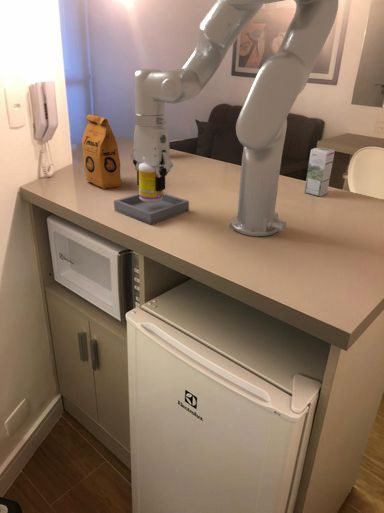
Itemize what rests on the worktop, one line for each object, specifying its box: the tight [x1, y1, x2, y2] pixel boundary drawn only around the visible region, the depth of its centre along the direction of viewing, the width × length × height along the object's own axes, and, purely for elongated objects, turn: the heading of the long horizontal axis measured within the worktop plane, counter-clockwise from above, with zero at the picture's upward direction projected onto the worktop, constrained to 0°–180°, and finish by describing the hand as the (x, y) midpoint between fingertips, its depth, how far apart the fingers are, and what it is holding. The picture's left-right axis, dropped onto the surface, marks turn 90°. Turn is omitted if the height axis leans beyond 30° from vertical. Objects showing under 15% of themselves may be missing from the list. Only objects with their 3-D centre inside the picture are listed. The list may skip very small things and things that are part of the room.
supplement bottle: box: [138, 156, 164, 203], centre depth 115 cm, size 7×7×13 cm
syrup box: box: [304, 146, 335, 197], centre depth 135 cm, size 6×6×14 cm
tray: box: [113, 192, 190, 226], centre depth 119 cm, size 15×15×3 cm
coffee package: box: [81, 114, 122, 190], centre depth 136 cm, size 10×12×22 cm
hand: (151, 186), depth 116 cm, fingers closed on supplement bottle, 6 cm apart
